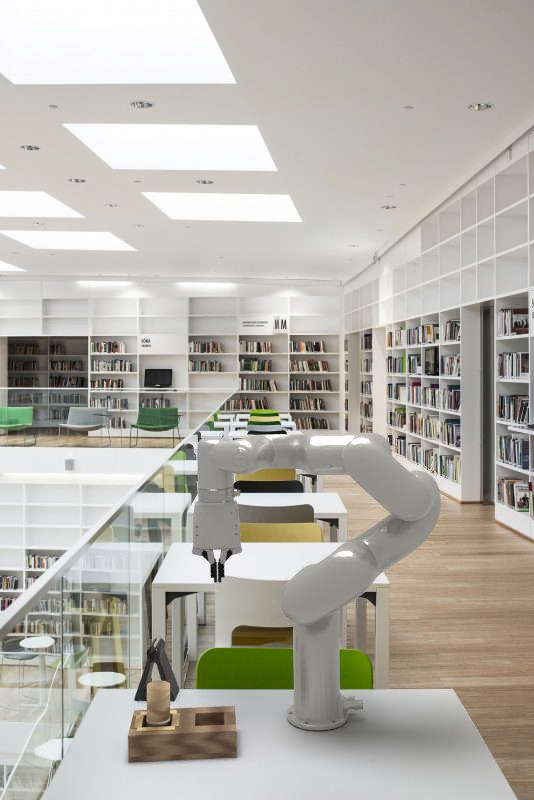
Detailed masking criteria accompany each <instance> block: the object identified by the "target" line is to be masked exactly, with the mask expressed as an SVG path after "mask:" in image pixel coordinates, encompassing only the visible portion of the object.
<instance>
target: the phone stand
mask: <svg viewBox="0 0 534 800" xmlns="http://www.w3.org/2000/svg"><path fill="white" fill-rule="evenodd" d="M157 639H158V638H157V637H156V638H153V640H152V642H151V643H150V645H149V647H148V648H147V650H146V663H145V666H144V669H143V672H142V675H141V678H140V681H139V684H138V687H137V689H136V693H135V695H134V698H133V700H134V701H135V702H147V684H148V683H150V682H151V677H152V672H153V668H154V664H155V665H156V668H157V671H158V674H159V677H160V681H167V682H169V683H170V702H175V700H176V698H177V696H178V693H179V691H180V687H179V684H178V681H177V678H176V676H175V673H174V671H173V668H172V666H171V663H170V661H169V660H170V659H169V657H168V654H167V653H166V641H165V639H163V638H162V637H160V638H159V640H158V642H157V643H156V641H157ZM155 644H156V645H155ZM154 645H155V646H154Z"/></svg>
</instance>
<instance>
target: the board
mask: <svg viewBox="0 0 534 800" xmlns="http://www.w3.org/2000/svg"><path fill="white" fill-rule="evenodd" d="M236 721H237V718H236V706H235V705H223V706H221V705H220V706H219V705H217V706H203V707H202V706H201V707H199V706H198V707H179V708H178V707H175V708H170V726H164V727H147V709H134V710H133V714H132V718H131V721H130V726H129V730H128V734H127V753H128V754H127V756H128V763H143V762H164V761H165V762H166V761H182V760H183V761H184V760H185V761H186V760H188V761H189V760H203V759H206V760H207V759H209V760H210V759H225V758H237V757H238V755H237V753H238V751H237V750H238V749H237V745H238V744H237V743H238V742H237V722H236Z"/></svg>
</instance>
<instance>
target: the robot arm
mask: <svg viewBox="0 0 534 800" xmlns="http://www.w3.org/2000/svg"><path fill="white" fill-rule="evenodd" d="M391 446H392V445H391V444H390V442H389V441H388V439H387V438H386V437H385V436H383V435H381V434H379V433H375V432H334V433H333V432H330V433H326V432H325V433H321V432H320V433H301V434H300V433H299V434H298V433H297V434H295V433H294V434H293V433H292V434H290V433H289V434H255V435H250V436H245V437H242V438H238V439H230V438H227V437H218V436H217V437H205V438H202V439H200V440H199V441H198V442H197V445H196V447H197V448H196V449H197V493H198V494H197V495H198V497H197V500H196V501H195V502H194V507H193V513H192V514H193V515H192V516H193V517H192V543H193V544H192V549H191V554H192V555H195V556H199V557H203V558H204V559H205V560H206V561H207V562H208V563H209V564H210V565H209V567H210V569H209V570H210V578H211V579H213V583H214V584H217V583H219V584H220V583H222V579H223V578H225V563H226V562H227V561H228V560H229V559H230V558H231V556H233V555H238V554H241V553H242V552H243V548H242V545H241V534H242V533H241V521H240V511H239V509H240V508H239V505H238V504H239V503H238V501H237V500H235V498H236V497H240V496H241V489H236V488H234V474H237V475H244V476H245V475H250V474H254V473H255V472H259V471H261V470H271V469H273V470H275V469H279V470H280V469H285V470H286V469H290V470H300V471H303V472H305V473H307V474H309V475H312V476H349V477H350V478H351V479H352V480H353V481H354V482H355V483H356V484H357V485H358V486H359V487H360V488H362V490H364V491H365V492H366V493H367V494H368V495H369V496H370V497H371V498H373V499H374V500H375V501H376V503H378V504H380V506H382V507H383V508H384V509H385V510H386V511H387V512H389V513H390V514H388V515H387V516H386V517H385V518H383V519H381V520H380V521H378V522H377V523H376V524H374V525H373V526H371V527H370V528H368V529H367V530H365V531H364V532H362V533H360V534H359V535H357V536H356V537H354V538H351V539H350V540H348V541H345V542H343V543H342V544H341V545H339V546H337V548H336V549H335V550H334V551H332V552H331V554H328V555H327V556H326V557H324V558H323V559H321V560H320V561H318V562H317V563H311V564H308V565H306V566H304V567H302V568H301V569H299V570H298V571H297V573H295V574H294V576H292V577H291V578H290V579H289V580H288V581H287V582H286V583H285V585H284V586H283V588H282V590H281V592H280V598H279V604H280V610H281V611H282V612H281V613H282V614H283V615H284V617H285V618H286V619H288V620H289V622H291V623H292V624H293V625H292V627H293V628H292V640H293V641H292V646H293V647H292V648H293V649H292V651H293V652H292V653H293V654H292V655H293V656H292V657H293V660H292V662H293V704H291V706H289V707H288V709H287V710H286V719H287V721H288V722H289V723H290V724H291V725H293V726H295V727H297V728H300V729H303V730H309V731H328V730H333V729H336V728H337V729H338V728H339V727H342V726H343V725H344V724H346V722H347V721H348V719H349V710H354V711H356V710H357V711H359V710H360V711H361V710H364V701H363V699H356V697H355V696H354V695H351V696H349V695H348V696H344V695H342V693H341V681H340V679H341V678H340V677H341V676H340V675H341V671H340V670H341V669H340V667H341V665H340V617H341V616H340V614H341V609H342V608H343V607H345V606H347V605H348V604H350V603H352V602H353V601H355V600H357V599H358V598H359V597H361V596H362V595H363V594H365V592H367V591H368V590H369V588H370V587H371V586H372V585H373V583H374V582H375V581H376V579H377V578H378V577H379V576H380V575H381V574H383V573H384V572H385V571H386V570H388V569H390V568H391V567H394V566H395V565H396V564H398V563H399V562H400V561H402V560H403V559H404V558H406V557H408V556H409V555H410V554H412V553H414V552H415V551H416V550H417V549H418V548H420V547H421V546H422V545H423V544H424V543H426V541H427V540H428V538H429V537H430V536H431V534H432V533H433V532H434V529H435V528H436V526H437V523H438V520H439V517H440V514H441V506H442V505H441V499H442V498H441V492H440V488H439V484H438V483H437V481H436V479H435V478H434V477H433V476H432V475H431V474H430V473H428V472H425V471H423V470H417V469H416V470H409V469H408V468H407V467H405V466H404V465H402V463H400V462H399V460H397V459H396V458H395V457H394V456H393V450H392V447H391ZM215 550H217V551H218V550H220V554H219V558H218V561H217V559H216V558H215V554H214V553H215V552H214V551H215Z"/></svg>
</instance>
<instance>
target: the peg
mask: <svg viewBox="0 0 534 800" xmlns="http://www.w3.org/2000/svg"><path fill="white" fill-rule="evenodd" d="M170 709H171V701H170V683H169V682H167V681H161V680H154V681H153V680H152V681H150V682H149V683H148V684H147V701H146V710H147V727H164V726H170Z"/></svg>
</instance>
